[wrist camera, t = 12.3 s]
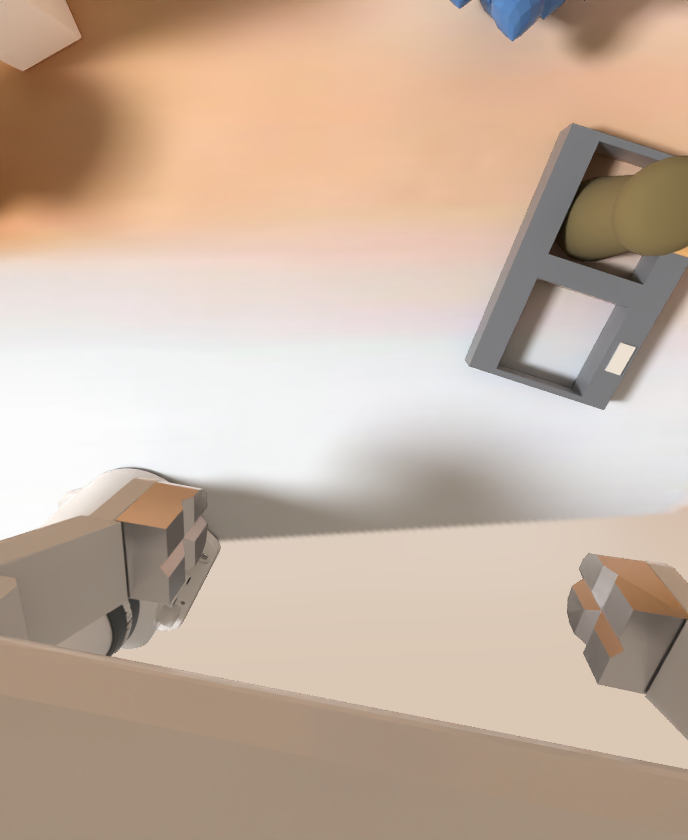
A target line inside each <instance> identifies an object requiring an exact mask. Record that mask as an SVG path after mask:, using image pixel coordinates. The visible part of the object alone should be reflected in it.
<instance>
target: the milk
mask: <svg viewBox="0 0 688 840" xmlns="http://www.w3.org/2000/svg"><path fill="white" fill-rule="evenodd" d="M79 39H81V34H80V32H79V30H78V28H77V25H76V23H75V21H74V18H73V16H72V14H71V12H70V9H69V7H68V5H67V2H66V0H0V61H2V62H4V63H6V64H8V65H10V66H13V67H15V68H17V69H19V70H21V71H25V70H26V69H28V68H30V67H32V66H33V65H35V64H37V63H39V62H40V61H42V60H44V59H46V58H47V57H49V56H51V55H53V54H54V53H56V52H58V51H60V50H61V49H63V48H65V47H67V46H68V45H70V44H72V43H74V42H75V41H77V40H79Z"/></svg>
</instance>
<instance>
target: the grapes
mask: <svg viewBox="0 0 688 840" xmlns="http://www.w3.org/2000/svg"><path fill="white" fill-rule="evenodd" d="M450 1H451V2H452V3H453V4H454V5H455V6H456V7H458V8H459V9H460V8H461V7H463V6H464V5H466V4H467V3H469V2H470V1H471V0H450ZM584 1H585V0H584ZM480 2H481V4H482V6H483V8H484V10H485V11H486V12H487V13H488V14H489V15H490V17H491V18H493V19H494V20H495V22H496V25H497V27H498V28H499V29H500V30H501V32H502V33H503V34H504V35H505V36H506V37H508V38H509V39H510V40H511V41H514V40H515V39H517V38H518V37H519V36H521V35H522V34H523V33H524V32H525V31H527V30H528V29H529V28H530V27H531V26H532V25H533V24H534V23H535V22H536V21H537V19H538V17H539V16H540V17H541V18H542V19H545V18H546V17H548V16H549V15H551V14H552V13H553V12H554V11H555V10H556V9H557V8H559V7H560V6H561V5H562V4H563V3H564V2H565V0H480Z"/></svg>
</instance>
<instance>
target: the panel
mask: <svg viewBox="0 0 688 840" xmlns="http://www.w3.org/2000/svg"><path fill="white" fill-rule="evenodd" d="M594 152H596V153H599V154H602V155H605V156H609V157H612V158H615V159H618V160H621V161H624V162H627V163H630V164H633V165H636V166H639V167H642V168H645V167H646V166H648V165H649V164H652V163H654V162H657V161H660V160H662V159H665V158H668V157H673V155H670V154H666V153H663V152H660V151H657V150H654V149H651V148H648V147H645V146H642V145H639V144H636V143H633V142H630V141H627V140H623V139H620V138H617V137H614V136H611V135H608V134H605V133H602V132H599V131H596V130H593V129H590V128H587V127H583V126H580V125H577V124H574V123H572V124H571V125H569V126H568V127H567V128H565V129H564V130H563V131H561V132H560V134H559V137H558V139H557V141H556V144H555V146H554V149H553V151H552V153H551V156H550V158H549V160H548V163H547V165H546V168H545V170H544V172H543V175H542V177H541V180H540V182H539V184H538V187H537V189H536V191H535V194H534V196H533V199H532V201H531V203H530V206H529V208H528V210H527V213H526V215H525V218H524V220H523V222H522V225H521V227H520V230H519V232H518V234H517V237H516V239H515V241H514V244H513V246H512V249H511V251H510V253H509V256H508V258H507V260H506V263H505V265H504V268H503V270H502V272H501V275H500V277H499V280H498V282H497V284H496V287H495V289H494V291H493V294H492V296H491V299H490V301H489V303H488V306H487V308H486V310H485V313H484V315H483V318H482V320H481V322H480V325H479V327H478V330H477V332H476V334H475V337H474V339H473V341H472V344H471V346H470V349H469V351H468V353H467V356H466V358H465V361H466V362H467V364H468V365H469V366H470V367H473V368H476V369H479V370H482V371H485V372H488V373H492V374H495V375H498V376H501V377H504V378H507V379H510V380H513V381H516V382H519V383H522V384H525V385H528V386H532V387H535V388H538V389H541V390H544V391H547V392H550V393H553V394H556V395H559V396H562V397H565V398H568V399H572V400H575V401H578V402H581V403H584V404H587V405H590V406H593V407H596V408H599V409H602V410H604V409H605V407H606V406H607V404H608V402H609V400H610V399H611V397H612V395H613V394H614V392H615V390H616V388H617V387H618V385H619V383H620V381H621V380H622V378H623V376H624V374H625V373H626V371H627V369H628V368H629V366H630V364H631V362H632V361H633V359H634V357H635V355H636V354H637V352H638V350H639V349H640V347H641V345H642V343H643V342H644V340H645V338H646V336H647V335H648V333H649V331H650V330H651V328H652V326H653V324H654V323H655V321H656V319H657V317H658V316H659V314H660V312H661V310H662V309H663V307H664V305H665V304H666V302H667V300H668V298H669V297H670V295H671V293H672V291H673V290H674V288H675V286H676V285H677V283H678V281H679V279H680V278H681V276H682V274H683V272H684V271H685V269H686V267H687V265H688V246H687V247H685V248H684V249H682V250H679V251H676V252H673V253H670V254H667V255H664V256H643V255H642V257H641V259H640V261H639V263H638V265H637V267H636V269H635V270H634V272H633V274H632V276H631V278H630V280H627V279H624V278H621V277H618V276H615V275H612V274H608V273H605V272H602V271H599V270H596V269H593V268H590V267H587V266H584V265H581V264H578V263H575V262H572V261H568V260H565V259H562V258H559V257H556V256H553V255H550V254H548V253H549V251H550V249H551V247H552V245H553V242H554V240H555V238H556V236H557V234H558V231H559V229H560V227H561V225H562V222H563V220H564V218H565V216H566V214H567V211H568V209H569V207H570V205H571V203H572V200H573V198H574V196H575V194H576V192H577V189H578V187H579V185H580V183H581V181H582V178H583V176H584V174H585V172H586V170H587V167H588V165H589V163H590V161H591V159H592V156H593V154H594ZM537 279H538V280H542V281H545V282H548V283H551V284H554V285H557V286H560V287H563V288H566V289H569V290H572V291H575V292H578V293H582V294H585V295H588V296H591V297H594V298H597V299H600V300H603V301H606V302H609V303H612V304H615V305H616V306H615V308H614V310H613V312H612V313H611V315H610V317H609V319H608V321H607V323H606V325H605V327H604V328H603V330H602V332H601V334H600V336H599V338H598V340H597V341H596V343H595V345H594V347H593V349H592V351H591V353H590V355H589V356H588V358H587V360H586V362H585V364H584V366H583V368H582V370H581V371H580V373H579V375H578V377H577V379H576V381H575V383H574V385H573V386H572V388H569V387H566V386H563V385H560V384H556V383H553V382H550V381H547V380H544V379H541V378H538V377H535V376H532V375H529V374H526V373H523V372H519V371H516V370H513V369H510V368H507V367H504V366H501V365H498V364H499V361H500V359H501V357H502V355H503V353H504V350H505V348H506V346H507V344H508V342H509V339H510V337H511V335H512V333H513V331H514V328H515V326H516V324H517V322H518V320H519V317H520V315H521V313H522V311H523V309H524V306H525V304H526V302H527V300H528V297H529V295H530V293H531V291H532V289H533V286H534V284H535V282H536V280H537Z"/></svg>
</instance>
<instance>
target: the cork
mask: <svg viewBox="0 0 688 840" xmlns="http://www.w3.org/2000/svg"><path fill="white" fill-rule="evenodd" d="M556 240H557V242H558V244H559V246H560V247H561V249H562V251H564V252H565V253H566V254H567V255H568V256H570V257H571V258H574V259H577V260H580V261H597V260H600V259H604V258H607V257H611V256H614V255H618V254H621V253H625V252H628V251H631V252H634V253H637V254H640V255H643V256H664V255H667V254H670V253H673V252H676V251H679V250H682V249H684V248H685V247H687V246H688V156H673V157H668V158H665V159H662V160H660V161H657V162H654V163H652V164H649V165H648V166H646V167H645V168H643V169H642V170H640V171H639V172H638V173H636V174H635V175H625V176H608V177H596V178H593V179H590V180H587V181H584V182H582V183H581V184H580V185H579V187H578V189H577V192H576V194H575V196H574V198H573V200H572V203H571V205H570V207H569V209H568V211H567V214H566V216H565V218H564V220H563V222H562V225H561V227H560V229H559V231H558V234H557V236H556Z"/></svg>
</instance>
